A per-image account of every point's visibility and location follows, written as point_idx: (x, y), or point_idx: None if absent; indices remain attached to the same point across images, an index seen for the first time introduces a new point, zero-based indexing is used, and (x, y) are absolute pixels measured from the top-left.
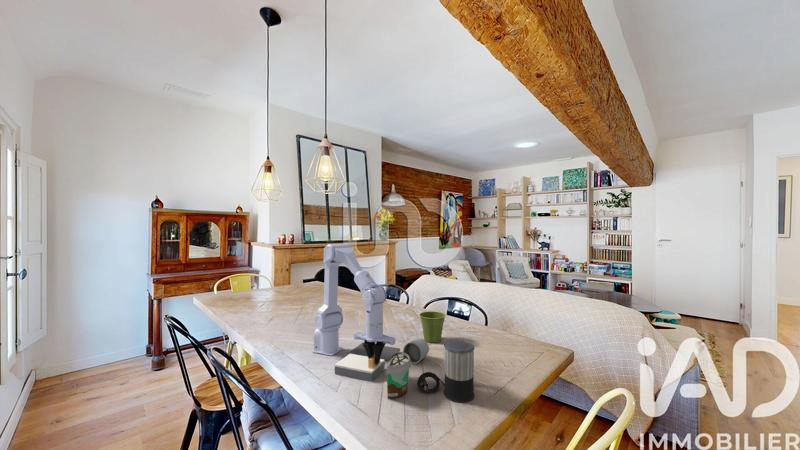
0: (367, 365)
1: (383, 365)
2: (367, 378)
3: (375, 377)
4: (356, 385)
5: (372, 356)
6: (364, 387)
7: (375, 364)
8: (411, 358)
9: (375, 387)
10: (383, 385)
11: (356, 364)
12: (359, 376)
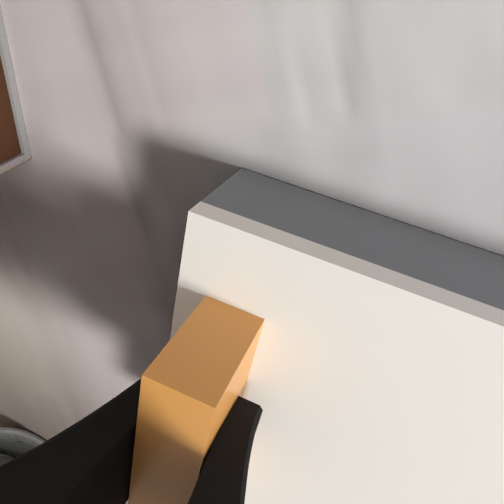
0: (295, 387)
1: None
2: (285, 195)
3: None
4: (419, 53)
5: (187, 489)
6: (295, 12)
7: None
8: None
9: (165, 37)
10: (103, 98)
11: (466, 434)
12: (398, 236)
